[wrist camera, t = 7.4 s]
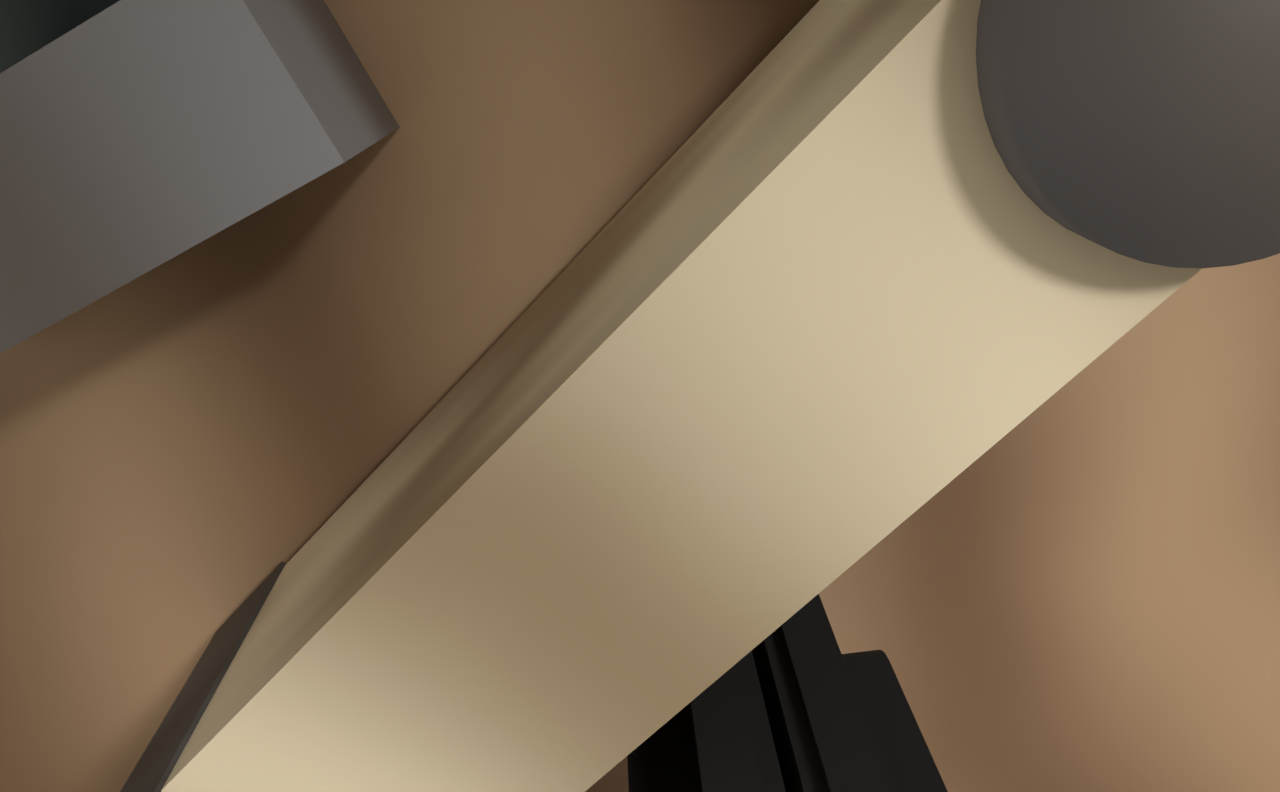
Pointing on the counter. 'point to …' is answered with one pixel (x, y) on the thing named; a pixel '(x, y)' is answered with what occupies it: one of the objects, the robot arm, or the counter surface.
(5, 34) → the counter surface
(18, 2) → the counter surface
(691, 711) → the robot arm
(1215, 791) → the stool board
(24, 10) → the counter surface
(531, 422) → the hinged leg
